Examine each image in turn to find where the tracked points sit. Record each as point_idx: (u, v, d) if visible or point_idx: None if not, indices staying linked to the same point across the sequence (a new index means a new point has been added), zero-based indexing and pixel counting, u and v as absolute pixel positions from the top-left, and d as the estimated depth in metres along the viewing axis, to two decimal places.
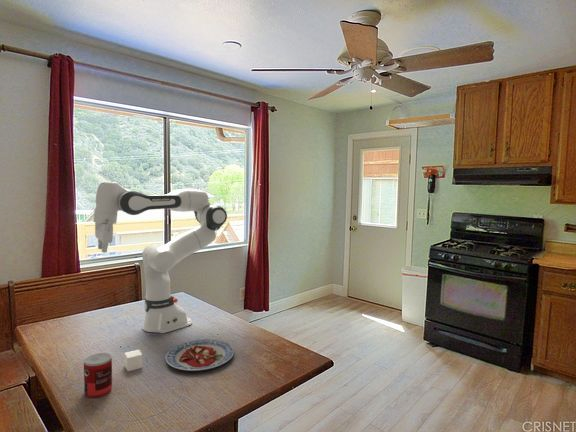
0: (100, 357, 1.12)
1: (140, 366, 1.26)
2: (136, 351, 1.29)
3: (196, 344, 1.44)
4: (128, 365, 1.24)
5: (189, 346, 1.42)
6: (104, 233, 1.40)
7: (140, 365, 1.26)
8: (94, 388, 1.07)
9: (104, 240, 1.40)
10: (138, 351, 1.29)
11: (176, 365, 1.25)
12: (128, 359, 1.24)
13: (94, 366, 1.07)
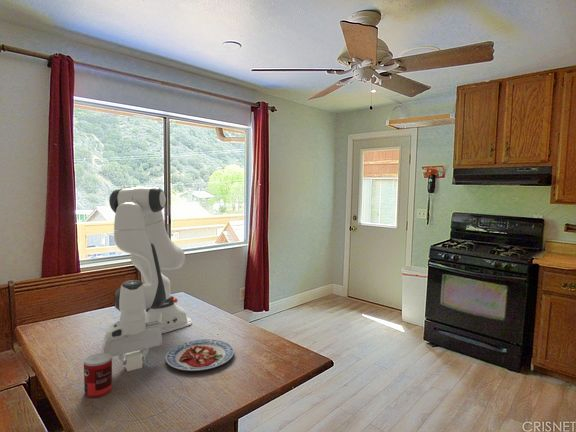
0: (100, 357, 1.12)
1: (140, 366, 1.26)
2: (136, 351, 1.29)
3: (196, 344, 1.44)
4: (128, 365, 1.24)
5: (189, 346, 1.42)
6: (161, 335, 1.31)
7: (140, 365, 1.26)
8: (94, 388, 1.07)
9: None
10: (138, 351, 1.29)
11: (176, 365, 1.25)
12: (128, 359, 1.24)
13: (94, 366, 1.07)
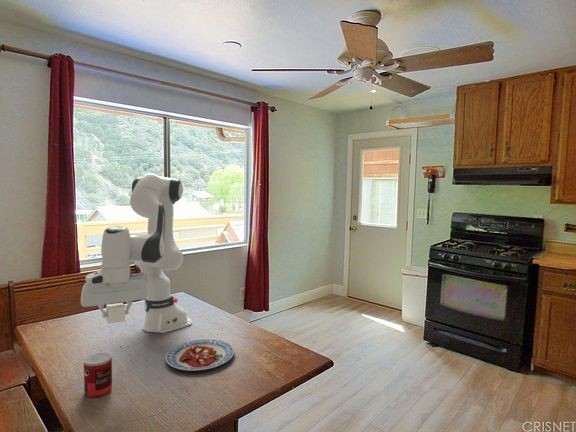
0: (100, 357, 1.12)
1: (123, 319, 1.16)
2: (119, 304, 1.19)
3: (196, 344, 1.44)
4: (109, 316, 1.14)
5: (189, 346, 1.42)
6: (146, 288, 1.21)
7: (123, 318, 1.16)
8: (94, 388, 1.07)
9: (147, 295, 1.22)
10: (121, 304, 1.19)
11: (176, 365, 1.25)
12: (109, 310, 1.13)
13: (94, 366, 1.07)
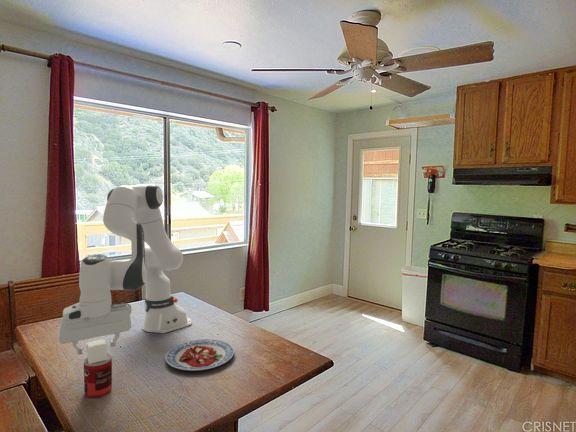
0: None
1: (105, 358, 1.09)
2: (100, 341, 1.11)
3: (196, 344, 1.44)
4: (89, 356, 1.07)
5: (189, 346, 1.42)
6: (130, 319, 1.14)
7: (104, 357, 1.09)
8: (94, 388, 1.07)
9: (130, 327, 1.14)
10: (103, 341, 1.11)
11: (176, 365, 1.25)
12: (89, 350, 1.06)
13: (94, 366, 1.07)
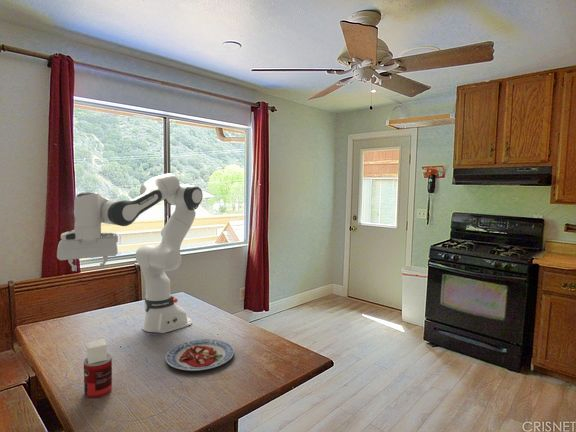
0: None
1: (105, 358, 1.09)
2: (100, 341, 1.11)
3: (196, 344, 1.44)
4: (89, 357, 1.07)
5: (189, 346, 1.42)
6: (116, 246, 1.37)
7: (104, 357, 1.09)
8: (94, 388, 1.07)
9: None
10: (103, 341, 1.11)
11: (176, 365, 1.25)
12: (89, 350, 1.06)
13: (94, 366, 1.07)
